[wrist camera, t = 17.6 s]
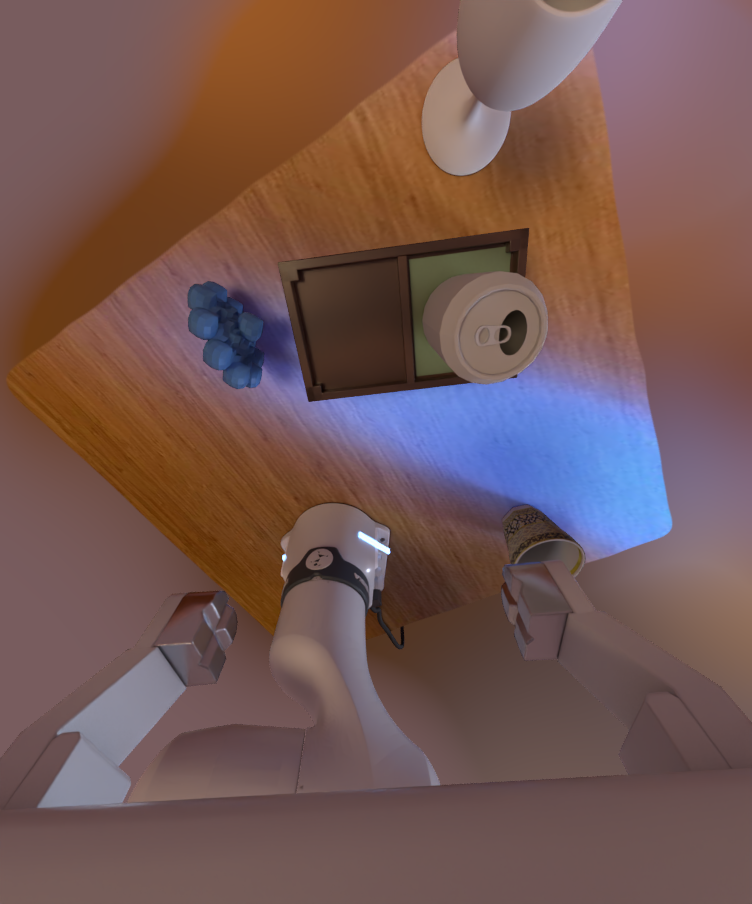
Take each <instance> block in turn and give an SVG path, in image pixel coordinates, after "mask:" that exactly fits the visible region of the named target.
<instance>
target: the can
mask: <svg viewBox="0 0 752 904" xmlns="http://www.w3.org/2000/svg"><path fill="white" fill-rule="evenodd" d="M422 322H423V330H424V334H425V336H426V339H427V341H428V343H429V344H430V346H431V347H432V348H433V349H434V350H435V351H436V352H437V354H438V355H439V356H440V357H441V358H442V359H443V360H444V362H445V363H446V364H447V365H448V366H449V367H450V368H451V369H452V370H453V371H454V372H455V373H456V374H457V375H458V376H459V377H461V378H463V379H465V380H467V381H469V382H472V383H479V384H491V383H497V382H502V381H504V380H506V379H508V378H510V377H512V376H514V375H516V374H518V373H520V372H522V371H523V370H524V369H525V368H526V367H528V366H529V365H530V364H531V363H532V362H533V361H534V360H535V358H536V357H537V355H538V354H539V352H540V351H541V349H542V347H543V344H544V341H545V339H546V336H547V330H548V316H547V309H546V305H545V302H544V298H543V295H542V294H541V293H540V291H539V290H538V289H537V287H536V286H535V285H534V283H533V282H532V281H530V280H528V279H526V278H525V277H523V276H521V275H519V274H518V273H510V272H503V271H496V272H484V273H472V274H463V275H459V276H454V277H451V278H449V279H448V280H446V281H444V282H443V283H441V284H440V285H439V286H438V287H437V288H436V289H435V290H434V291H433V292H432V294H431V295H430V297H429V299H428V301H427V303H426V305H425V307H424V313H423V319H422Z"/></svg>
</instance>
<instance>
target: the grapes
mask: <svg viewBox="0 0 752 904" xmlns="http://www.w3.org/2000/svg"><path fill="white" fill-rule="evenodd" d="M188 307H189V308H190V309H192V310H191V312H190V315H189V317H188V328H189V331H190V332H191V333H192V334H194V335H195V336H196V337H198V338H200V339H203V340H208V342H206V344H205V347H204V349H203V361H204V362H205V363H206V364H207V365H209V366H210V367H211V368H214V369H216V370H223V381H224V382H225V383H227V384H228V385H229V386H231V387H233V388H236V389H240V388H244V387H245V386H246V387H249V388H253V387H256V386H257V385H259V384H260V381H261V377H262V368H261V367H262V365H263V361H264V353H263V352H262V351H261V350H259V349H258V348H256V347H255V346H256V341H257V340H258V339H259V338H260V337H261V334H262V331H263V320H261V319H260V318H259V317H257V316H255V315H253V314H251V313H247V312H244V313H243V304H241V303H240V302H238V301H237V300H235V299H233V298H231V297H227V290H226V289H225V288H224V287H222V286H221V285H219V284H217V283H215V282H211V281H207V282H206V283H204V284H203V285H201V284H194V285H193V286H191V287H190V289H189V292H188Z"/></svg>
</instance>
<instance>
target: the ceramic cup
mask: <svg viewBox="0 0 752 904" xmlns="http://www.w3.org/2000/svg"><path fill="white" fill-rule="evenodd" d="M502 523H503V531H504V535H505V539H506V543H507V546H508V550H509V558H510V563H511V564H519V563H529V562H538V561H539V562H541V561H552V560H561V561H562V562H563V563H564V564H565V566H566V567H567V568H568V570H569V571H570V573H571V574H572V576H573V577H574V578H575V577H576V576H577V575H578V574H579V573H580V571H581V570H582V568H583V566H584V563H585V553H584V550H583V549H582V547H581V546H580V545H579V544H578V543H577V542H576V541H575V540H574V539H573V538H572V537H571V536H569V535H568V534H567V533H566V532H564V531H563V530H562V529H560V528H559V527H558V526H557V525H556V524H555V523H554V522H552V521H551V520H550V519H549V518H548V517H547V516H546V515H545V514H543V513H542V512H541V511H540V510H538V509H536V508H534V507H532V506H530V505H522V506H517V507H513V508H512V509H511V510H510V511H509V512H508V513H507V514H506V515H505V516H504V517H503V519H502Z"/></svg>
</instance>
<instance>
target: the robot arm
mask: <svg viewBox="0 0 752 904" xmlns="http://www.w3.org/2000/svg"><path fill="white" fill-rule="evenodd" d="M389 536H390V530H389V529H388V528H387V527H386V526H384V525H381V524H379V523H376V522H374V521H373V520H371V519H370V518H369V517H368V516H367V515H366V514H365V513H363V512H362V511H360V510H359V509H357V508H354V507H352V506H349V505H345V504H339V503H327V504H321V505H317V506H315V507H312V508H310V509H308V510H307V511H305V512H304V513H303V514H302V515H301V516H300V517H299V518H298V520H297V521H296V523H295V525H294V527H293V529H292V530H291V531H290V532H288V533H287V534H285V535H284V536H283V537H282V540H281V546H282V548H283V549H284V551H285V555H283V564H282V569H281V576H282V577H283V578H284V581H285V584H284V587H283V590H282V598H281V612H280V616H279V620H278V623H277V627H276V630H275V634H274V637H273V641H272V645H271V648H270V654H269V663H270V669H271V672H272V675H273V677H274V679H275V680H276V682H277V684H278V685H279V686H280V688H281V689H282V690H283V691H284V692H285V693H286V694H287V695H288V696H289V697H290V698H292V699H293V700H295V701H296V702H297V703H299V704H300V705H301V706H302V707H303V708H304V709H305V710H306V711H307V712H308V714H309V715H310V717H311V718H312V721H313V723H314V727H311V728H307V730H306V736H305V729H299V728H285V727H272V726H257V725H243V724H231V725H224V726H218V727H211V728H206V729H200V730H195V731H189V732H184V733H181V734H179V735H178V736H177V737H176V738H174V739H173V740H172V741H171V742H170V743H169V744H168V745H166V746H165V747H164V748H163V749H162V750H161V751H160V752H159V754H158V755H157V756H156V757H155V758H154V759H153V761H152V762H151V763H150V764H149V766H148V767H147V768H146V770H145V771H144V773H143V774H142V776H141V777H140V779H139V780H138V782H137V784H136V786H135V787H134V789H133V791H132V793H131V795H130V797H129V799H128V801H127V803H122V802H123V800H124V798H125V796H126V794H127V792H128V789H129V787H130V785H131V781H130V777H129V776H128V775H127V774H126V773H125V772H123V771H122V770H121V769H120V768H119V767H118V766H119V765H120V764H121V763H122V762H123V761H124V759H125V758H126V757H127V756H128V755H129V754H130V753H131V751H132V750H133V749H134V748H135V747H136V746H137V745H138V743H139V742H140V741H141V740H142V739H143V738H144V736H145V735H146V734H147V733H148V732H149V731H150V730H151V728H152V727H153V726H154V725H155V724H156V723H157V722H158V720H159V719H160V718H161V717H162V716H163V715H164V714H165V712H166V711H167V710H168V709H169V708H170V706H171V705H172V704H173V703H174V702H175V701H176V700H177V699H178V698H179V696H180V695H181V694H182V693H183V692H184V691H185V690H186V687H187V686H196V685H206V684H215V683H216V682H217V681H218V678H219V675H220V673H221V671H222V668H223V665H224V663H225V660H226V656H225V652H224V651H225V650H226V649H227V648H228V646H230V645H231V644H232V642H233V640H234V637H235V635H236V630H237V623H238V621H237V615H236V612H235V610H234V608H232V607H230V606H229V605H228V604H227V602H228V599H229V598H228V596H227V594H226V592H225V591H207V592H190V593H179V594H172V595H170V596H169V597H168V598H167V599H166V600H165V601H164V603H163V604H162V606H161V607H160V609H159V610H158V612H157V613H156V615H155V616H154V618H153V620H152V621H151V622H150V624H149V626H148V627H147V629H146V630H145V632H144V633H143V634H142V636H141V638H140V639H139V641H138V642H137V644H136V645H135V647H134V648H133V649H127V650H126V651H125V652H124V653H122V654H121V655H120V656H118V657H117V658H116V659H115V660H113V661H112V662H111V663H110V664H108V665H107V666H106V667H104V668H103V669H102V670H101V671H99V672H98V673H97V674H95V675H94V676H93V677H92V678H90V679H89V680H88V681H86V682H85V683H84V684H83V685H81V686H80V687H79V688H78V689H76V690H75V691H74V692H72V693H71V694H70V695H69V696H67V697H66V698H65V699H63V700H62V701H61V702H60V703H58V704H57V705H56V706H54V707H53V708H52V709H51V710H50V711H48V712H47V713H46V714H44V715H43V716H42V717H40V718H39V719H38V720H37V721H35V722H34V723H33V724H31V725H30V726H29V727H28V728H26V729H25V730H24V731H22V732H21V733H20V734H19V735H18V737H17V738H16V739H15V741H14V742H13V743H12V745H11V746H10V747H9V748H8V749H7V751H6V752H5V753H4V755H3V756H2V757H1V758H0V904H752V722H751V721H750V720H749V719H748V718H747V717H746V715H745V714H744V713H743V712H742V711H741V709H740V708H739V707H738V706H737V705H736V704H735V702H734V701H733V700H732V699H731V698H730V697H729V695H728V694H727V693H726V692H725V691H724V690H723V688H722V687H721V686H719V685H718V684H716V683H715V682H713V681H711V680H710V679H708V678H707V677H705V676H704V675H702V674H701V673H699V672H697V671H696V670H694V669H693V668H691V667H689V666H688V665H686V664H685V663H683V662H682V661H680V660H679V659H677V658H675V657H674V656H672V655H671V654H669V653H668V652H666V651H664V650H663V649H662V648H660V647H658V646H657V645H655V644H654V643H652V642H651V641H649V640H647V639H646V638H644V637H643V636H641V635H640V634H638V633H636V632H635V631H633V630H632V629H630V628H629V627H627V626H626V625H624V624H622V623H621V622H619V621H618V620H616V619H615V618H613V617H611V616H610V615H608V614H607V613H605V612H604V611H596V609H595V608H594V606H593V605H592V604H591V602H590V601H589V599H588V598H587V596H586V595H585V593H584V592H583V590H582V589H581V588H580V586H579V585H578V583H577V582H576V580H575V579H574V577H573V576H572V574H571V573H570V571H569V570H568V568H567V567H566V566H565V564H564V563H563V562H562V561H561V560H552V561H541V562H539V561H538V562H529V563H519V564H509V565H504V567H503V573H502V575H503V577H504V579H505V583H504V584H503V585H502V586H501V597H502V604H503V607H504V611H505V614H506V616H507V619H508V621H509V622H511V623H512V624H513V625H514V626H515V633H514V637H515V639H516V642H517V644H518V646H519V649H520V652H521V654H522V656H523V659H524V661H527V660H550V659H558V662H559V663H560V664H561V665H562V666H563V667H564V668H565V669H566V670H567V671H569V672H570V673H571V674H572V675H573V676H574V677H575V678H576V679H577V680H578V681H579V682H580V683H581V684H582V685H583V686H584V687H585V688H586V689H587V690H588V691H589V692H590V693H591V694H592V695H593V696H595V698H597V699H598V700H599V701H600V702H601V703H602V704H603V705H604V706H605V707H606V708H607V709H608V710H609V711H610V712H611V713H612V714H613V715H614V716H615V717H617V719H618V720H619V721H621V723H623V725H625V726H626V727H627V728H628V729H629V732H628V734H627V737H626V739H625V741H624V743H623V745H622V747H621V750H620V753H619V757H620V759H621V761H622V763H623V765H624V767H625V769H626V771H627V773H628V775H614V776H597V777H578V778H561V779H542V780H524V781H507V782H488V783H471V784H452V785H440V782H439V779H438V777H437V775H436V773H435V771H434V769H433V767H432V765H431V763H430V761H429V760H428V758H427V757H426V756H425V754H424V753H423V751H422V750H421V749H420V748H419V747H418V746H416V745H415V744H414V743H413V742H412V741H411V740H410V739H409V738H408V737H407V736H406V735H405V734H404V733H403V732H402V731H401V730H400V729H399V728H398V726H397V725H396V724H395V723H394V721H393V720H392V719H391V717H390V716H389V714H388V713H387V711H386V710H385V708H384V707H383V705H382V703H381V701H380V699H379V697H378V695H377V693H376V691H375V688H374V686H373V683H372V681H371V678H370V674H369V671H368V666H367V658H366V642H365V617H366V615H367V612H368V609H371V610H372V611H373V612H374V613H377V618H378V622H379V624H380V625H381V627H382V628H383V629H384V631H385V632H386V633H387V635H388V636H389V638H390V639H391V641H392V643H393V644H394V645H395V646H396V647H397V648H398V649H402V648H403V647H404V626H402V627H400V633H401V644H400V645H399V644H398V643H397V641H396V640H395V638H394V637H393V635H392V634H391V632H390V630H389V629H388V628H387V626H386V625H385V624H384V622H383V621H382V618H381V609H380V608H379V607H377V606H380V605H381V591H382V590H383V589H384V577H385V569H386V561H387V554H390V549H389V548H388V545H389ZM381 538H384V539H381ZM375 607H377V608H375ZM304 737H305V743H304ZM303 744H304V749H303ZM302 751H303V755H302ZM301 757H302V762H301ZM300 765H301V768H300ZM299 772H300V775H299ZM298 779H299V782H298ZM297 786H298V788H297Z"/></svg>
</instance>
